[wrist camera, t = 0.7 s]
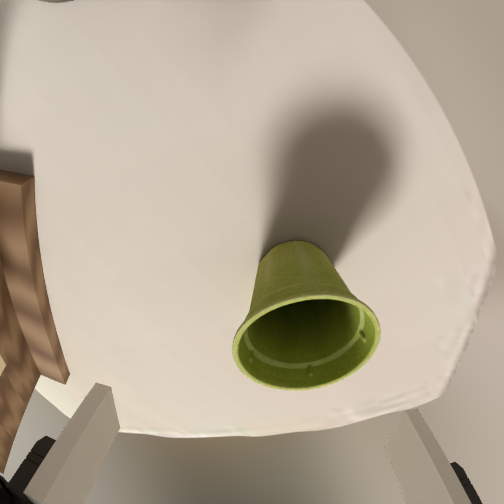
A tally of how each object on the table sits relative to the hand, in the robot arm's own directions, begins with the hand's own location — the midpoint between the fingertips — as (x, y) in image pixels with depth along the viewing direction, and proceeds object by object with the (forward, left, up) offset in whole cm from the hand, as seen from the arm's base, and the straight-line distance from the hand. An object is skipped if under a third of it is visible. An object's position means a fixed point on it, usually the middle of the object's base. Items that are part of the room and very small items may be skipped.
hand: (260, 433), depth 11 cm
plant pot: (+2, +3, -15) cm, 16 cm away
